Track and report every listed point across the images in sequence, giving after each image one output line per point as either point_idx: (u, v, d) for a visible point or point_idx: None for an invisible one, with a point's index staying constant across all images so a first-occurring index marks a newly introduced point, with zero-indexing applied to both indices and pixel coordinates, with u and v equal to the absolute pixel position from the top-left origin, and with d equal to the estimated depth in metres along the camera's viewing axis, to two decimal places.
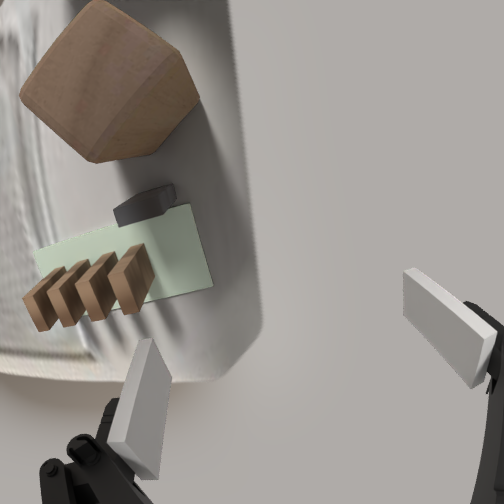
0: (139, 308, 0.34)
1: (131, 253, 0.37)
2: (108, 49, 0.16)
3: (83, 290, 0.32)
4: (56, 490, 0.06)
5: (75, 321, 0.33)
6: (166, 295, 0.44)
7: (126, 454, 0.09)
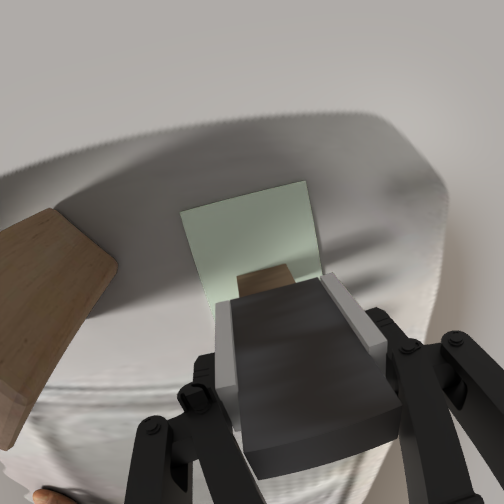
0: None
1: None
2: None
3: None
4: (152, 450, 0.08)
5: None
6: (315, 249, 0.31)
7: (231, 400, 0.11)
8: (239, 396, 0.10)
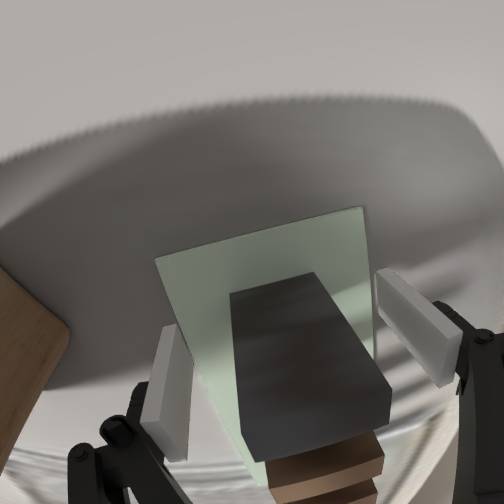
0: (377, 447, 0.11)
1: None
2: None
3: None
4: (84, 476, 0.07)
5: None
6: (368, 311, 0.20)
7: (158, 434, 0.10)
8: (237, 382, 0.11)
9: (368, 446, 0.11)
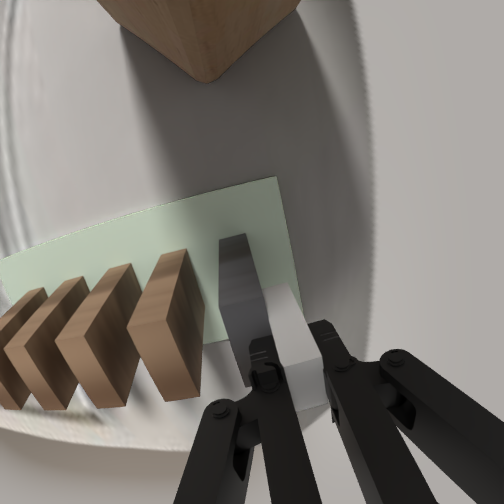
0: (199, 388, 0.16)
1: (168, 270, 0.19)
2: None
3: (74, 354, 0.14)
4: (217, 435, 0.09)
5: (65, 402, 0.15)
6: (223, 337, 0.26)
7: (295, 379, 0.11)
8: None
9: (197, 380, 0.16)
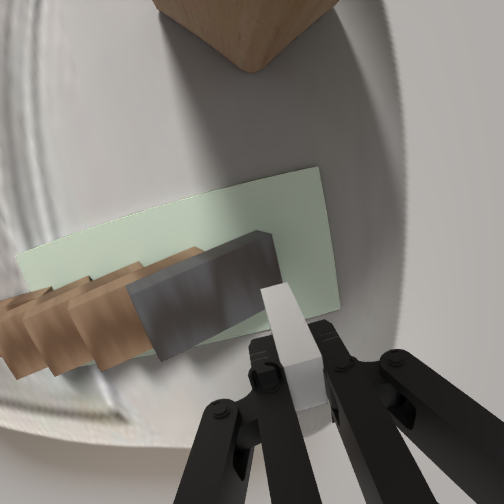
0: (106, 367, 0.19)
1: (151, 269, 0.20)
2: None
3: None
4: (217, 436, 0.09)
5: (17, 375, 0.19)
6: (261, 328, 0.26)
7: (295, 379, 0.11)
8: (169, 279, 0.18)
9: (107, 362, 0.19)
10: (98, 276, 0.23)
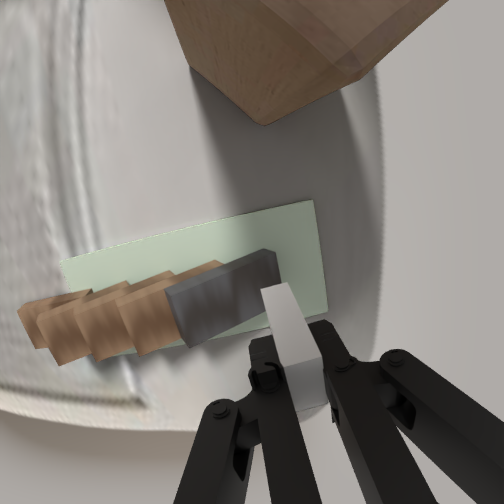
0: (143, 353, 0.25)
1: (182, 277, 0.27)
2: None
3: None
4: (217, 436, 0.09)
5: (60, 362, 0.25)
6: (264, 325, 0.32)
7: (295, 379, 0.11)
8: (199, 284, 0.25)
9: (144, 349, 0.25)
10: (134, 281, 0.30)
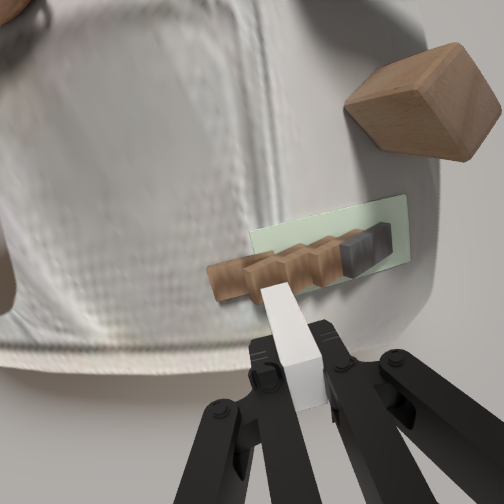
0: (325, 285, 0.43)
1: (344, 238, 0.45)
2: (476, 89, 0.23)
3: (280, 268, 0.43)
4: (217, 436, 0.09)
5: (259, 302, 0.43)
6: (376, 270, 0.50)
7: (295, 379, 0.11)
8: (361, 240, 0.43)
9: (326, 282, 0.43)
10: (305, 243, 0.47)
